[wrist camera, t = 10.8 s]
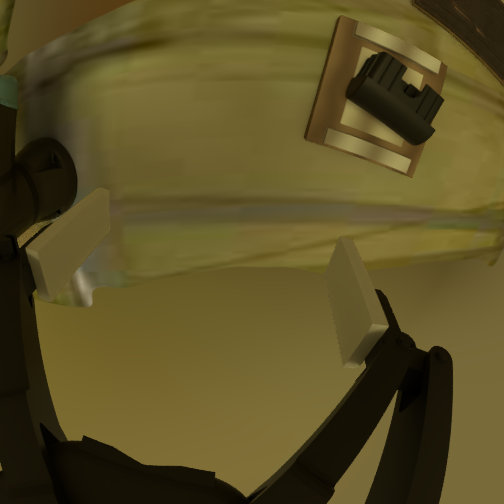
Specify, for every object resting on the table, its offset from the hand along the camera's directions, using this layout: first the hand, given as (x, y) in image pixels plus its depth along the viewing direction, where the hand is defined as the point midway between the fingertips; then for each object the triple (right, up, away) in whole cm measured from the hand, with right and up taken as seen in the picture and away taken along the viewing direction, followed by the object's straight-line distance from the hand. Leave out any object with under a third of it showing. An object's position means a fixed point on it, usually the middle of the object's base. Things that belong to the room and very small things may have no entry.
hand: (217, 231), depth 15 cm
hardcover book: (+37, +36, +6) cm, 52 cm away
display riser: (+19, +20, +16) cm, 32 cm away
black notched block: (+18, +18, +14) cm, 30 cm away
